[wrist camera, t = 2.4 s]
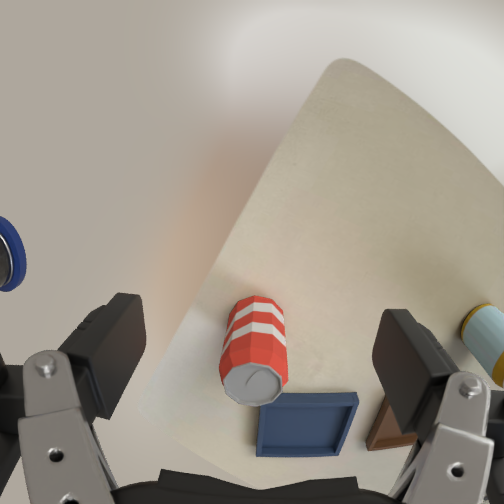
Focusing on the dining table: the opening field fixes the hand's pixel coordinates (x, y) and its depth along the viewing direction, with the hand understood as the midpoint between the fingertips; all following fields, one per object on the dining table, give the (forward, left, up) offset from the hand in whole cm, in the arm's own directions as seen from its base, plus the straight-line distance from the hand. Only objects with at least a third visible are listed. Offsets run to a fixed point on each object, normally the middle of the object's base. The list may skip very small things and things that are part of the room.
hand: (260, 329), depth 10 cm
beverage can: (0, -14, -24) cm, 28 cm away
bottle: (+32, -15, -24) cm, 43 cm away
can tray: (+8, -33, -24) cm, 41 cm away
